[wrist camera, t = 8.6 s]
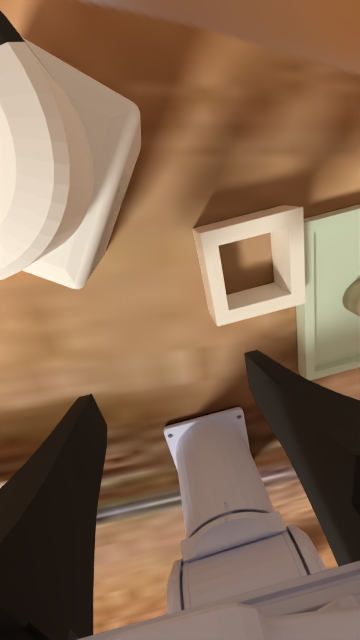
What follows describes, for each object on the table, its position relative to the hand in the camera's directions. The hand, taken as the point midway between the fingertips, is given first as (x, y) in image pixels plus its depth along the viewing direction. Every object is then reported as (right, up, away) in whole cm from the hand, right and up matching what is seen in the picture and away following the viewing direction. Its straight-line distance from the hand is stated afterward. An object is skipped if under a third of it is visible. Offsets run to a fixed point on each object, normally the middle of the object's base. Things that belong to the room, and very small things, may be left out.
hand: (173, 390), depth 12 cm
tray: (+15, +6, +10) cm, 19 cm away
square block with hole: (+5, +8, +8) cm, 12 cm away
